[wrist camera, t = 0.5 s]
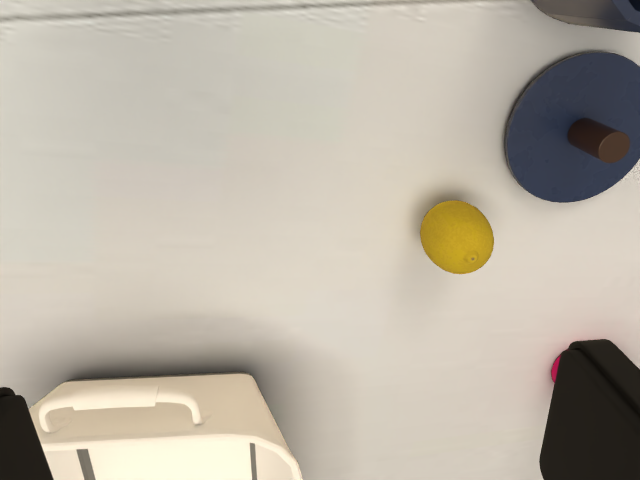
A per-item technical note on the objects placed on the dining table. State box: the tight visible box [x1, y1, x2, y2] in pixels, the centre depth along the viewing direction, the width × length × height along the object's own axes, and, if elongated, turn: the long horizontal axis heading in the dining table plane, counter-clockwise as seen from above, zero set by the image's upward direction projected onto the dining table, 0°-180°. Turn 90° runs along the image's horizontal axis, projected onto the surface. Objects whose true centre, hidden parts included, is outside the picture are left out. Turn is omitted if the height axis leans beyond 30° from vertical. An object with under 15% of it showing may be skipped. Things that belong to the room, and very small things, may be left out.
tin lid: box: [505, 52, 640, 202], centre depth 40 cm, size 12×12×6 cm
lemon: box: [420, 200, 494, 274], centre depth 42 cm, size 6×6×8 cm
